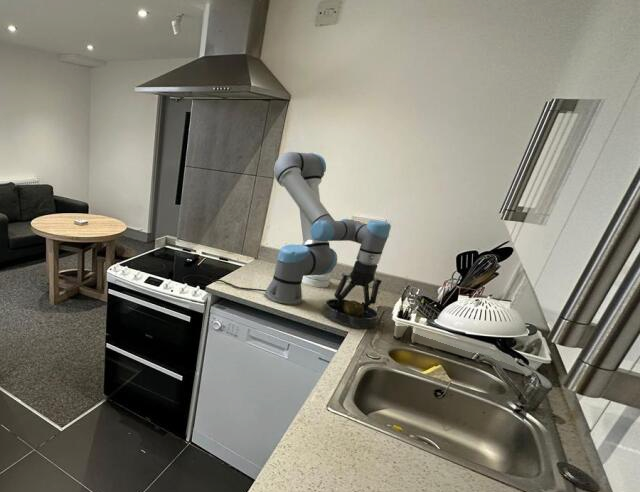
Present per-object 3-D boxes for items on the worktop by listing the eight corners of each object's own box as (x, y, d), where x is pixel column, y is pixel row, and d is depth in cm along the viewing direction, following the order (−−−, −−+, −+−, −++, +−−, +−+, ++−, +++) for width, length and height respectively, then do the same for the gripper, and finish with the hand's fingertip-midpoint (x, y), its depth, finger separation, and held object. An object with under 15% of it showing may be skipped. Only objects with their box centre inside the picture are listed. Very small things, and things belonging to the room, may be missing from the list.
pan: (328, 324, 151) (331, 313, 149) (318, 305, 168) (320, 295, 167) (382, 333, 148) (386, 322, 146) (366, 312, 165) (369, 303, 163)
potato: (360, 314, 161) (367, 296, 158) (359, 325, 151) (366, 307, 148) (338, 309, 165) (344, 291, 162) (336, 319, 154) (342, 301, 151)
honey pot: (306, 276, 205) (315, 243, 198) (332, 284, 197) (342, 249, 190) (296, 281, 196) (306, 246, 189) (322, 289, 188) (333, 253, 181)
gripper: (341, 261, 147) (324, 316, 156) (399, 269, 143) (378, 324, 153) (336, 256, 154) (320, 308, 163) (392, 263, 150) (372, 317, 159)
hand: (348, 316), depth 158 cm, fingers closed on potato, 7 cm apart
